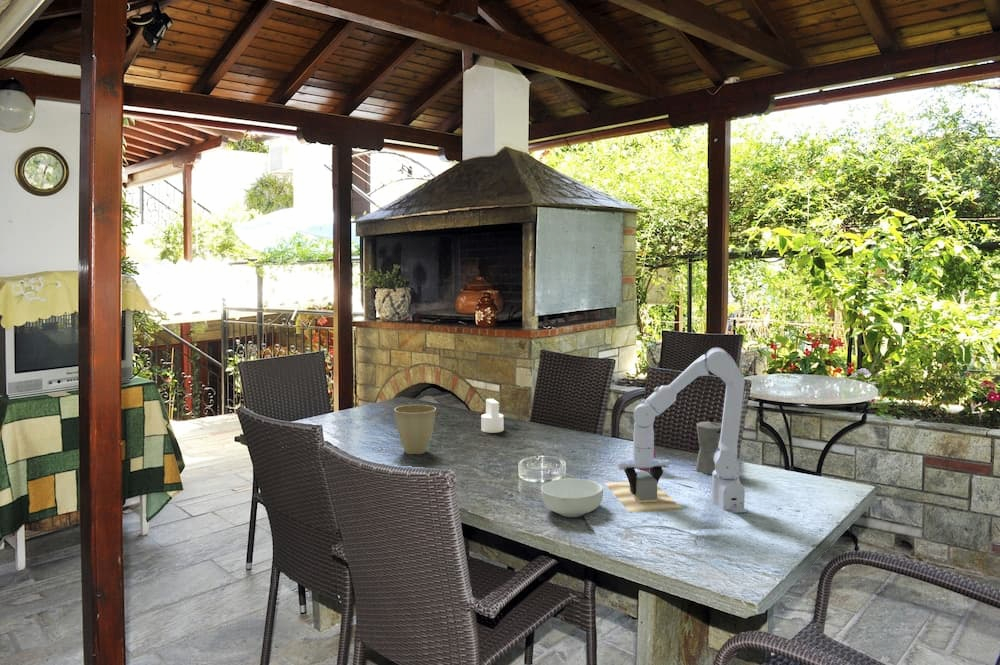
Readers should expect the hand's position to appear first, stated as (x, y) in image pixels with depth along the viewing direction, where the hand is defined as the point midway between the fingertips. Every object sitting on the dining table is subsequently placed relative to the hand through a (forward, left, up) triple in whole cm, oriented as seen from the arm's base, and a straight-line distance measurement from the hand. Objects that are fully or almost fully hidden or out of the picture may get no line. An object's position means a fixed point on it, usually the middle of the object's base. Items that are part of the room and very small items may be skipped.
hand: (642, 493), depth 203 cm
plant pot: (+62, +64, -2) cm, 89 cm away
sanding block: (0, 0, -1) cm, 1 cm away
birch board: (+1, 0, -2) cm, 3 cm away
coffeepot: (+24, -31, -2) cm, 39 cm away
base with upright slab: (+91, +33, -3) cm, 97 cm away
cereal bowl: (-6, +22, -3) cm, 23 cm away
